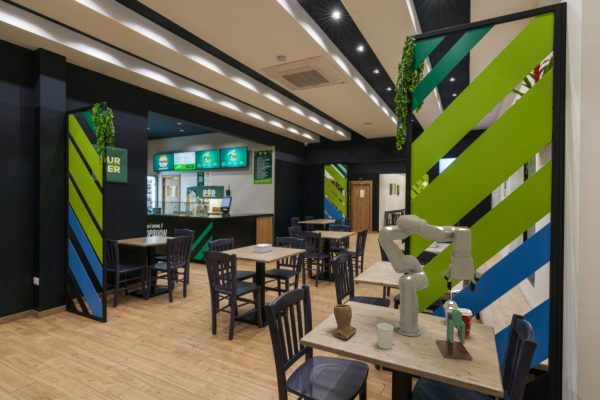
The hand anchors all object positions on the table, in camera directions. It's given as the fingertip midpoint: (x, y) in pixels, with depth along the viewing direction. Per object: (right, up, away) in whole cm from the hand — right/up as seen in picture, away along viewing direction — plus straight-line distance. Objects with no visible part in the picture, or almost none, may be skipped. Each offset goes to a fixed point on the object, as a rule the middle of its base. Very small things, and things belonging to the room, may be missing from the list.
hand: (460, 290), depth 152 cm
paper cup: (+12, -30, +20) cm, 38 cm away
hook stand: (-1, -30, +4) cm, 31 cm away
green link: (-2, -24, -1) cm, 24 cm away
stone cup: (-52, -30, +22) cm, 64 cm away
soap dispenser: (+13, -30, +36) cm, 49 cm away
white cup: (-33, -30, +8) cm, 46 cm away
